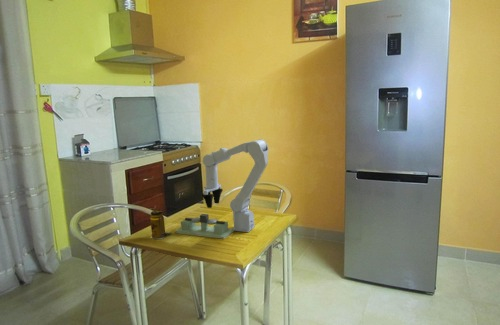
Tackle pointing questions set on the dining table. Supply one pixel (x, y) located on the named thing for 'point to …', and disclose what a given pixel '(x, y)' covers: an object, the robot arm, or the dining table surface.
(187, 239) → the dining table surface
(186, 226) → the display stand
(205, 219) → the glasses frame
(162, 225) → the condiment
